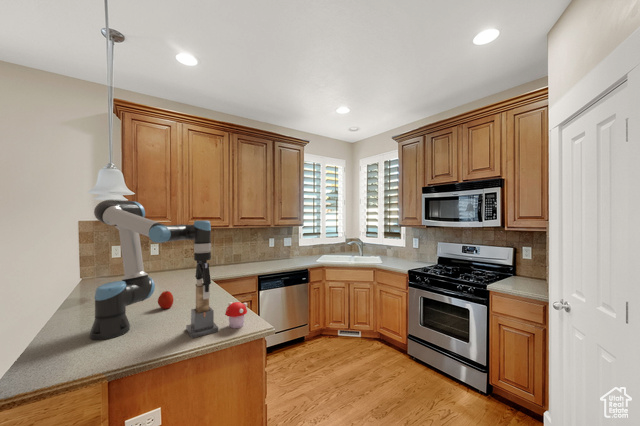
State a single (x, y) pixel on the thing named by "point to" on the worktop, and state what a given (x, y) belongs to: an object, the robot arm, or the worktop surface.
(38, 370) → the worktop surface
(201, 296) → the post
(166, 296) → the apple
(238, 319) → the mushroom
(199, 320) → the sleeve
